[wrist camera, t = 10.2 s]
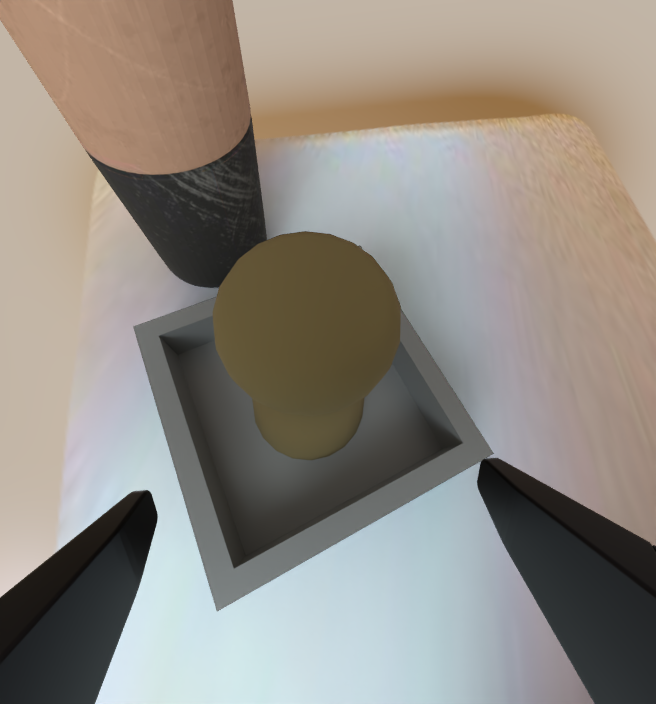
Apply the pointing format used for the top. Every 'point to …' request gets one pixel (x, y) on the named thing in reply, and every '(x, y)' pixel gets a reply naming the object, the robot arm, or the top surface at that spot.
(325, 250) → the cork
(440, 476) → the gray square tray
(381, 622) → the top surface
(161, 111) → the travel mug
